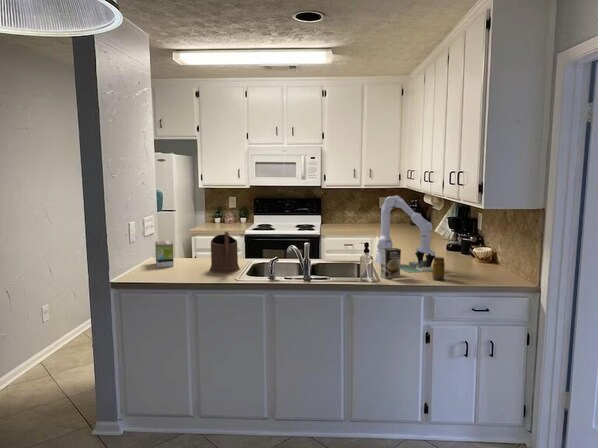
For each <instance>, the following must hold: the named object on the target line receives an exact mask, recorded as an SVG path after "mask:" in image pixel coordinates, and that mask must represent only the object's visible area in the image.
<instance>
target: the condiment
mask: <svg viewBox="0 0 598 448" xmlns="http://www.w3.org/2000/svg"><path fill="white" fill-rule="evenodd" d="M445 263H446V262H445V258H444V257H442V256H435V257H434V259H433V261H432V266H433V271H432V277H431V278H430V280H431V281H438V282H448V281H450V280H451V279H449V278H446V277H445V269H446V268H445V266H446V265H445Z"/></svg>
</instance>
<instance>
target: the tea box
mask: <svg viewBox="0 0 598 448" xmlns="http://www.w3.org/2000/svg"><path fill="white" fill-rule="evenodd" d="M154 243H155V245H154V246H155V264H156V266H157V268H171V267H174V265H175V264H174V263H175V262H174V243H173V241H172V240H157V241H154Z"/></svg>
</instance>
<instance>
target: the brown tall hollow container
mask: <svg viewBox="0 0 598 448" xmlns="http://www.w3.org/2000/svg"><path fill="white" fill-rule="evenodd" d="M229 233H230V232H229V231H226V230H225V231H224V234H217V235H215V236H214V237H213V238H212V239H211V240H210V258H211V259H210V261H211V263H210V268H209V272H211V273H214V274H230V273H231V274H232V273H236V272H238V271H240V270H241V268H240V266H239V258H238V254H239V253H238V240H237V239H236V238H234V237H233V236H231V235H230V234H229Z"/></svg>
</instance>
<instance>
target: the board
mask: <svg viewBox="0 0 598 448" xmlns="http://www.w3.org/2000/svg"><path fill="white" fill-rule="evenodd" d="M400 271H404V272H406V273H409V274H414V273H423V272H424V273H427V272H433V265H431V267H422V268H421V269H420V265H417V266H416V268H415V267H412V266H410V265H409V264H408V265H400Z"/></svg>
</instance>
